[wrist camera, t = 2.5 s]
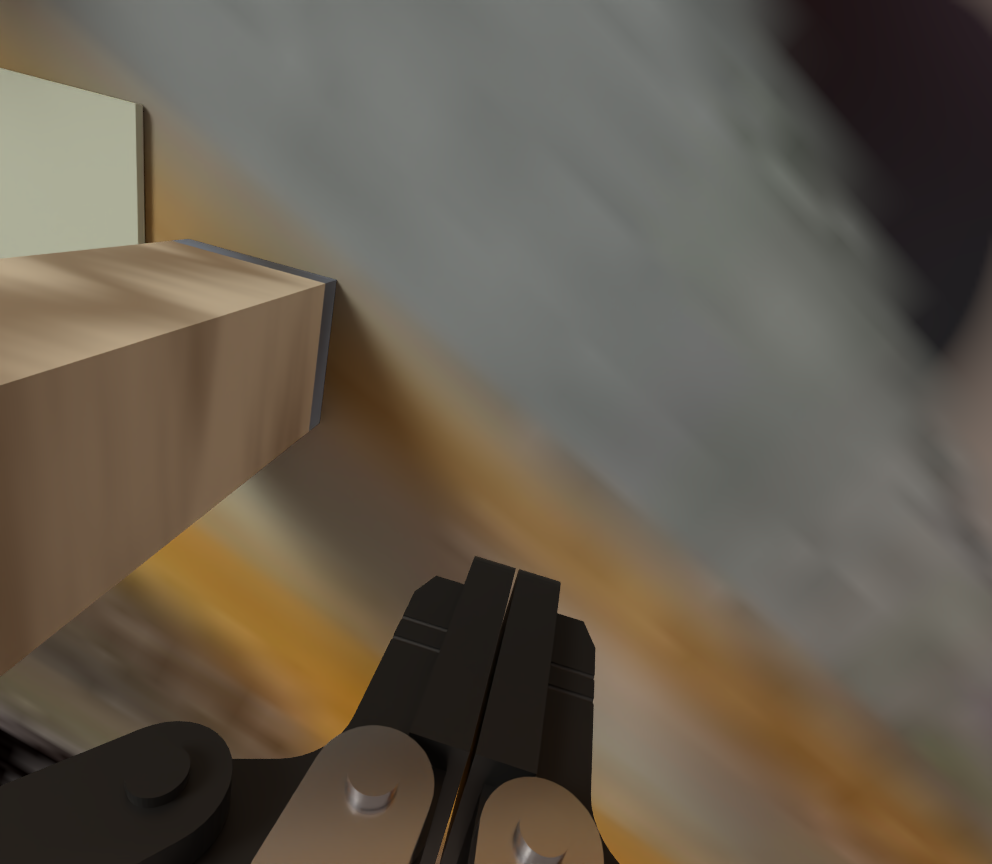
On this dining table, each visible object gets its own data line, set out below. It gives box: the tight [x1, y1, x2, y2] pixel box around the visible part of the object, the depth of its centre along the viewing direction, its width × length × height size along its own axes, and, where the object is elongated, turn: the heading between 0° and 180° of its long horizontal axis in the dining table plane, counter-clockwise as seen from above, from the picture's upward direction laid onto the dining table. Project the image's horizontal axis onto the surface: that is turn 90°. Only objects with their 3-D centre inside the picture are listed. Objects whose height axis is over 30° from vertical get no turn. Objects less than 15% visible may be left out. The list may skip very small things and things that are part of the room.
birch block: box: [0, 239, 337, 676], centre depth 14 cm, size 5×5×12 cm
